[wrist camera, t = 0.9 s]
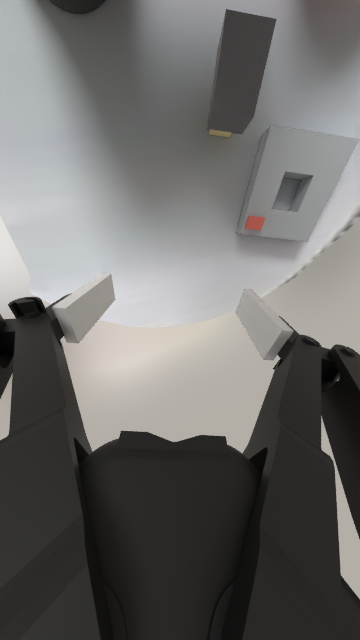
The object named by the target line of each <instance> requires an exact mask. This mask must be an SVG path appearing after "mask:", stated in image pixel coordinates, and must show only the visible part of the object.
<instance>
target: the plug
mask: <svg viewBox="0 0 360 640" xmlns="http://www.w3.org/2000/svg"><path fill="white" fill-rule="evenodd" d="M275 23H276V19H273V18H268V17H263V16H258V15H253V14H248V13H242V12H237V11H232V10H227V9H226V13H225V18H224V23H223V27H222V32H221V37H220V42H219V47H218V52H217V59H216V67H215V75H214V82H213V90H212V97H211V105H210V113H209V120H208V128H207V129H210V130H209V135H216V136H222V137H229V138H230V136H231V134H232V133H238V134H242V133H243V132H244V130H245V129H246V127H247V126H248V124H249V123H250V121H251V120H252V118H253V116H254V112H255V108H256V104H257V99H258V95H259V91H260V87H261V82H262V78H263V74H264V70H265V65H266V61H267V57H268V53H269V48H270V44H271V40H272V36H273V31H274V27H275Z"/></svg>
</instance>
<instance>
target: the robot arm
mask: <svg viewBox="0 0 360 640" xmlns="http://www.w3.org/2000/svg"><path fill="white" fill-rule="evenodd" d="M50 1H51V2H53V3H54V4H55V5H57V6H58V7H60V8H62V9H64V10H66V11H69V12H73V13H86V12H89V11H92V10H94V9H95V8H97V7H98V6H99V5H100V4H101V3H102V2H103V1H104V0H50ZM114 300H115V295H114V289H113V282H112V276H111V274H110V273H102V274H100V275H99V276H97V277H96V278H94V279H93V280H91V281H90V282H88V283H87V284H85V285H84V286H82V287H81V288H79V289H78V290H76V291H75V292H73V293H71V294H68V295H66V296H64V297H62V298H61V299H60V300H58V301H56V302H54V303H53V304H51V305H50V306H49V307H47V308H45V307H44V305H43V303H42V300H41V299H40V298H38V297H25V298H20V299H17V300H14V301H12V302H10V303H9V304H8V306H9V307H10V309H11V311H12V312H13V314H14V315H15V317H16V319H3V318H2V316H1V315H0V398H1V396H2V394H3V392H4V389H5V387H6V385H7V383H8V381H9V379H10V377H11V375H12V373H13V379H12V397H11V414H10V430H9V435H8V436H7V437H6V438H4V439H2V440H0V640H360V599H359V598H358V597H357V595H356V594H355V593H354V592H353V590H352V589H351V588H350V587H349V585H348V584H347V583H346V582H345V580H344V579H343V578H342V576H341V574H340V557H339V540H338V520H337V503H336V486H335V469H334V464H333V460H332V459H331V457H330V456H329V455H327V454H326V453H325V452H323V451H322V450H321V416H322V419H323V422H324V425H325V429H326V432H327V435H328V439H329V442H330V445H331V449H332V452H333V455H334V459H335V462H336V465H337V468H338V472H339V475H340V478H341V482H342V485H343V488H344V492H345V495H346V498H347V502H348V505H349V508H350V512H351V515H352V518H353V521H354V524H355V527H356V530H357V533H358V535H359V539H360V355H359V354H358V353H357V352H355V351H354V350H353V349H351V348H349V347H345V346H342V345H334V346H333V347H332V348H331V349H326V348H323V347H321V345H320V343H318V342H317V341H316V340H314V339H313V338H311V337H308V336H305V335H299V334H298V333H297V332H296V331H295V330H294V329H293V328H292V327H291V326H289V324H288V323H286V321H285V320H284V319H283V318H281V317H280V316H278V315H277V314H276V313H275V312H274V311H273V310H272V309H271V308H270V307H269V306H268V305H267V304H266V303H265V302H264V301H263V300H262V299H261V298H260V297H259V296H258V295H257V294H256V293H255V292H254V291H253V290H249V289H244V292H243V295H242V297H241V300H240V302H239V305H238V307H237V310H236V314H237V315H238V317H239V319H240V321H241V322H242V324H243V326H244V327H245V329H246V331H247V332H248V334H249V336H250V338H251V339H252V341H253V343H254V344H255V346H256V348H257V350H258V351H259V353H260V355H261V356H262V358H263V359H264V360H274V359H275V357H276V356H277V354H278V356H279V357H280V358H281V359H280V360H279V361H278V363H277V364H276V365H275V367H274V368H273V369H274V370H275V371H274V374H273V377H272V380H271V383H270V385H269V388H268V391H267V394H266V396H265V399H264V402H263V405H262V408H261V410H260V413H259V416H258V419H257V421H256V424H255V427H254V430H253V433H252V436H251V438H250V441H249V444H248V445H247V447H246V449H245V450H244V452H243V454H242V453H241V452H239V451H237V450H236V449H235V448H233V447H231V446H229V445H227V442H226V437H225V436H207V435H199V436H196V437H192V438H189V439H185V440H182V441H178V442H171V441H169V440H166V439H164V438H161V437H158V436H156V435H153V434H151V433H148V432H134V431H133V432H132V431H121V433H120V437H119V439H116V440H113V441H111V442H108V443H106V444H104V445H103V446H101V447H99V448H98V449H96V450H95V451H94V452H92V450H91V447H90V444H89V442H88V439H87V437H86V433H85V430H84V426H83V422H82V418H81V414H80V411H79V407H78V403H77V400H76V396H75V392H74V388H73V384H72V380H71V377H70V373H69V369H68V365H67V361H66V358H65V354H64V350H63V346H62V343H61V341H60V339H61V338H62V337H63V336H64V337H65V339H66V341H67V342H69V343H79V342H80V341H81V340H82V339H83V338H84V336H85V335H86V334H87V333H88V332H89V330H90V329H91V328H92V327H93V326H94V324H95V323H96V322H97V321H98V320H99V318H100V317H101V316H102V315H103V314H104V312H105V311H106V310H107V309H108V308H109V306H110V305H111V304H112V303H113V302H114ZM338 379H339V380H338ZM337 380H338V381H337Z"/></svg>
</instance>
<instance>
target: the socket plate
mask: <svg viewBox="0 0 360 640" xmlns="http://www.w3.org/2000/svg"><path fill="white" fill-rule="evenodd" d="M358 141H359V139H356V138H350V137H344V136H337V135H331V134H325V133H318V132H312V131H306V130H299V129H293V128H287V127H280V126H274V125H271V126H270V127H269V128H268V129H267V130H266V131H265V132H264V134H263V135H262V137H261V141H260V144H259V148H258V152H257V155H256V159H255V163H254V167H253V170H252V174H251V178H250V182H249V185H248V189H247V193H246V197H245V200H244V204H243V208H242V212H241V215H240V219H239V223H238V227H237V230H236V233H238V234H246V235H254V236H262V237H271V238H279V239H287V240H296V241H304V242H307V241H308V239H309V237H310V235H311V233H312V231H313V229H314V227H315V225H316V223H317V221H318V219H319V217H320V215H321V213H322V211H323V209H324V207H325V205H326V203H327V201H328V199H329V198H330V196H331V194H332V192H333V190H334V188H335V186H336V184H337V182H338V180H339V178H340V176H341V174H342V172H343V170H344V168H345V166H346V164H347V162H348V160H349V158H350V156H351V154H352V153H353V151H354V149H355V147H356V145H357V143H358ZM283 177H284V178H291V179H298V180H301V182H300V185H299V187H298V190H297V192H296V195H295V197H294V200H293V202H292V204H291V207H290V209H289V211H286V210H278V209H272V207H273V205H274V202H275V199H276V196H277V193H278V190H279V188H280V185H281V182H282V179H283Z"/></svg>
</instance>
